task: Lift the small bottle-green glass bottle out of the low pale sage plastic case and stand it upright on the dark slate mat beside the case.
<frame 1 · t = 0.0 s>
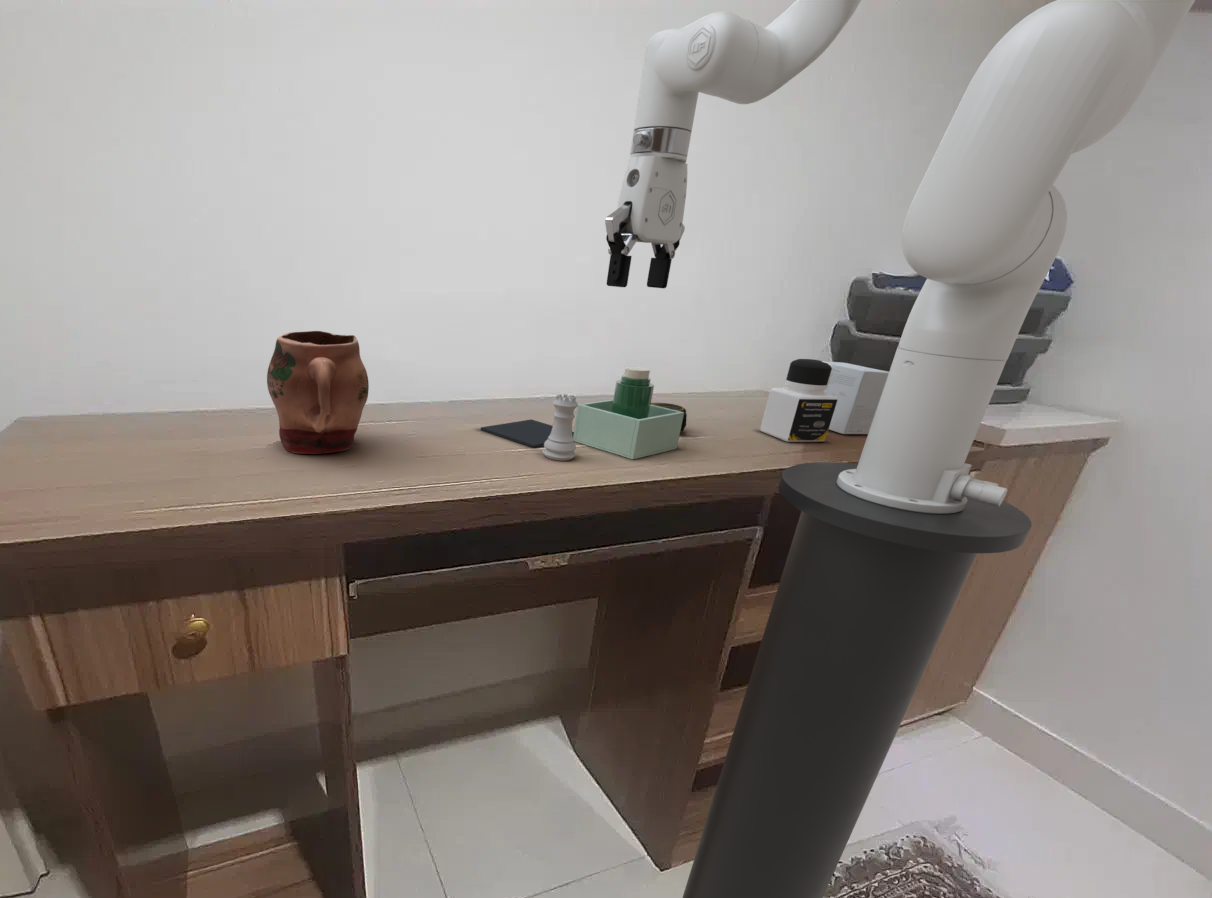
hand: (636, 287, 94), 21 cm above the table, tool pointing down, fingers open, 9 cm apart
brown clay mug: (321, 450, 83), on the table
case: (624, 444, 94), on the table
mat: (532, 433, 96), on the table
medicine bottle: (791, 437, 105), on the table
rook chess piece: (558, 457, 86), on the table
cosmetics box: (835, 428, 113), on the table
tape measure: (663, 432, 103), on the table
green bottle: (624, 442, 94), resting on case
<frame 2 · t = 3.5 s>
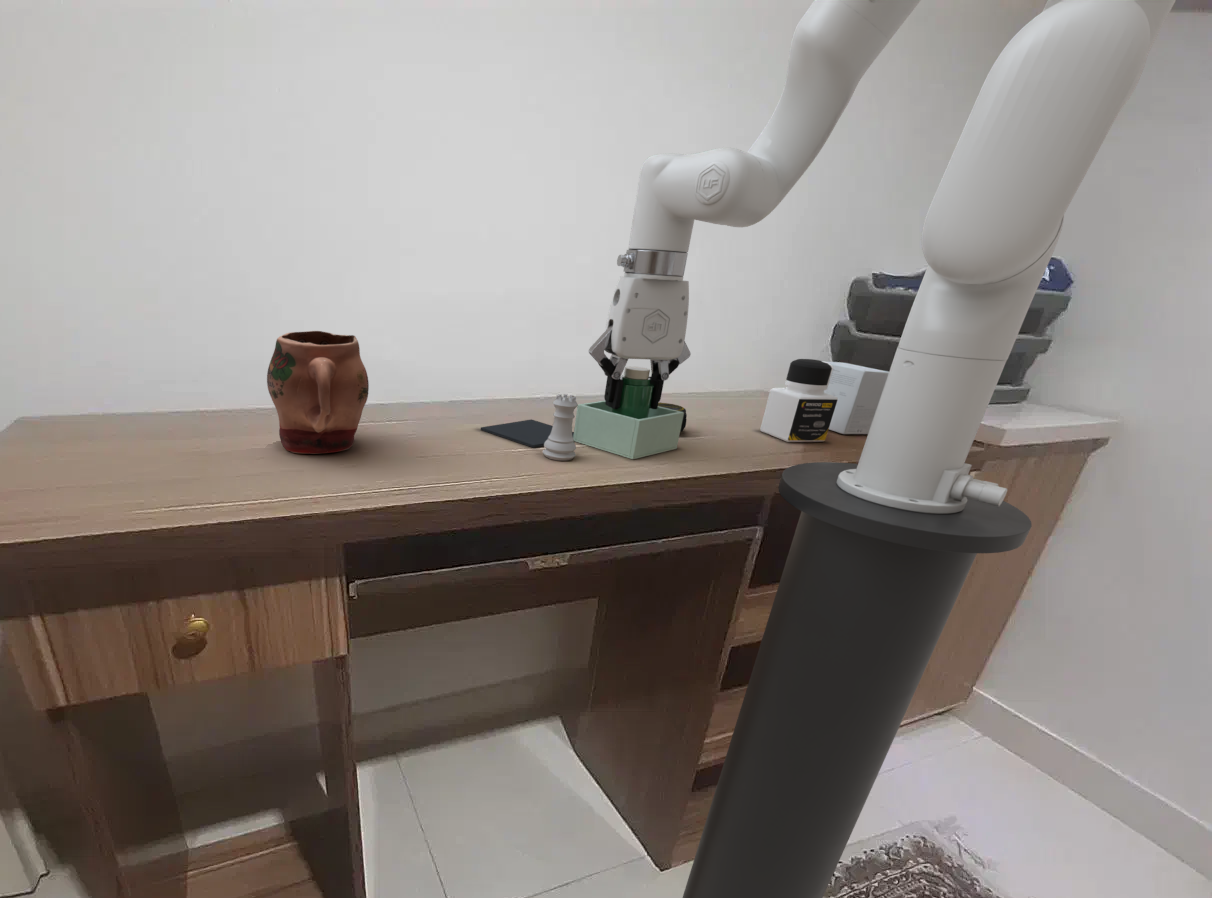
hand: (631, 405, 92), 6 cm above the table, tool pointing down, fingers closed on green bottle, 5 cm apart
green bottle: (624, 442, 94), resting on case, touching gripper
everything else where it was.
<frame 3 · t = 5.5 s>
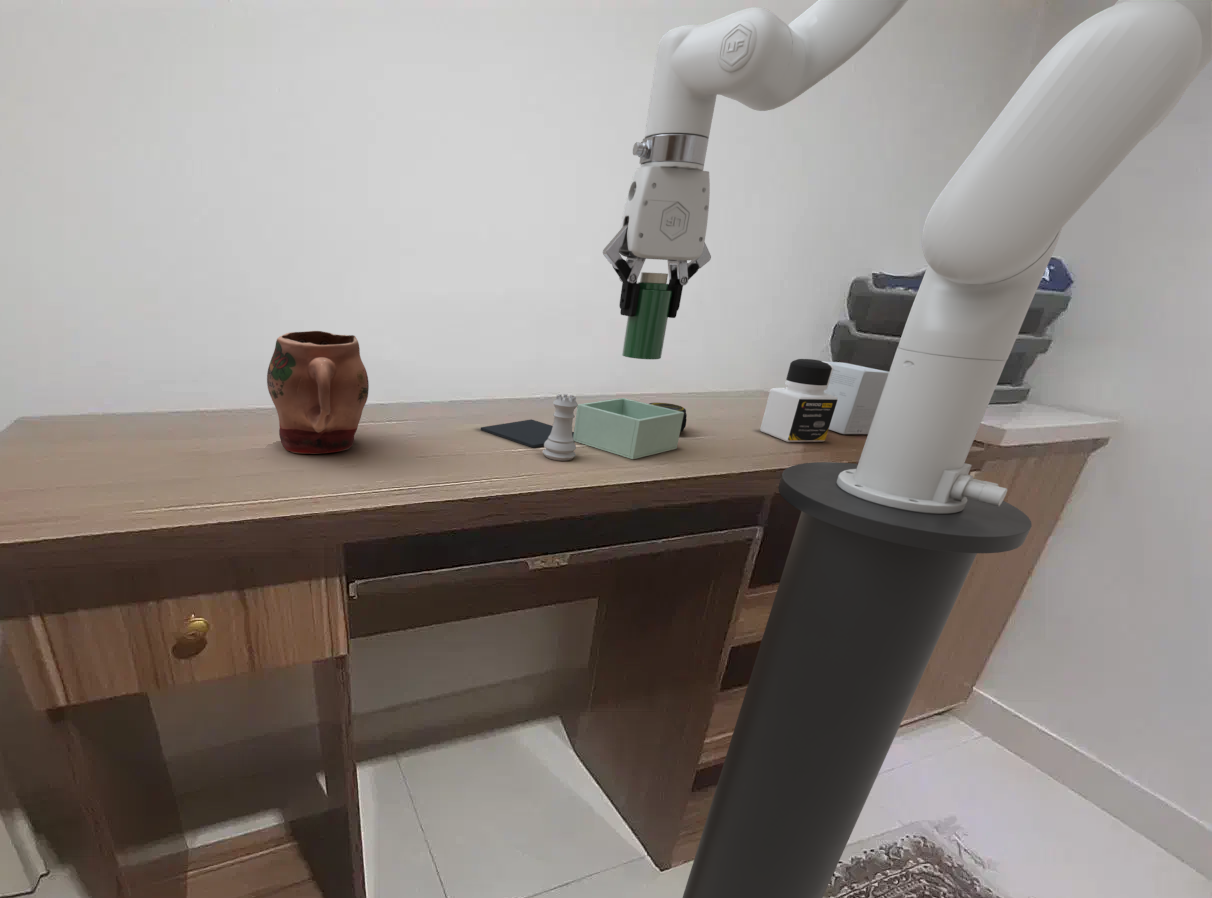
hand: (648, 314, 86), 18 cm above the table, tool pointing down, fingers closed on green bottle, 5 cm apart
green bottle: (641, 356, 88), point 12 cm above the table, touching gripper
everything else where it was.
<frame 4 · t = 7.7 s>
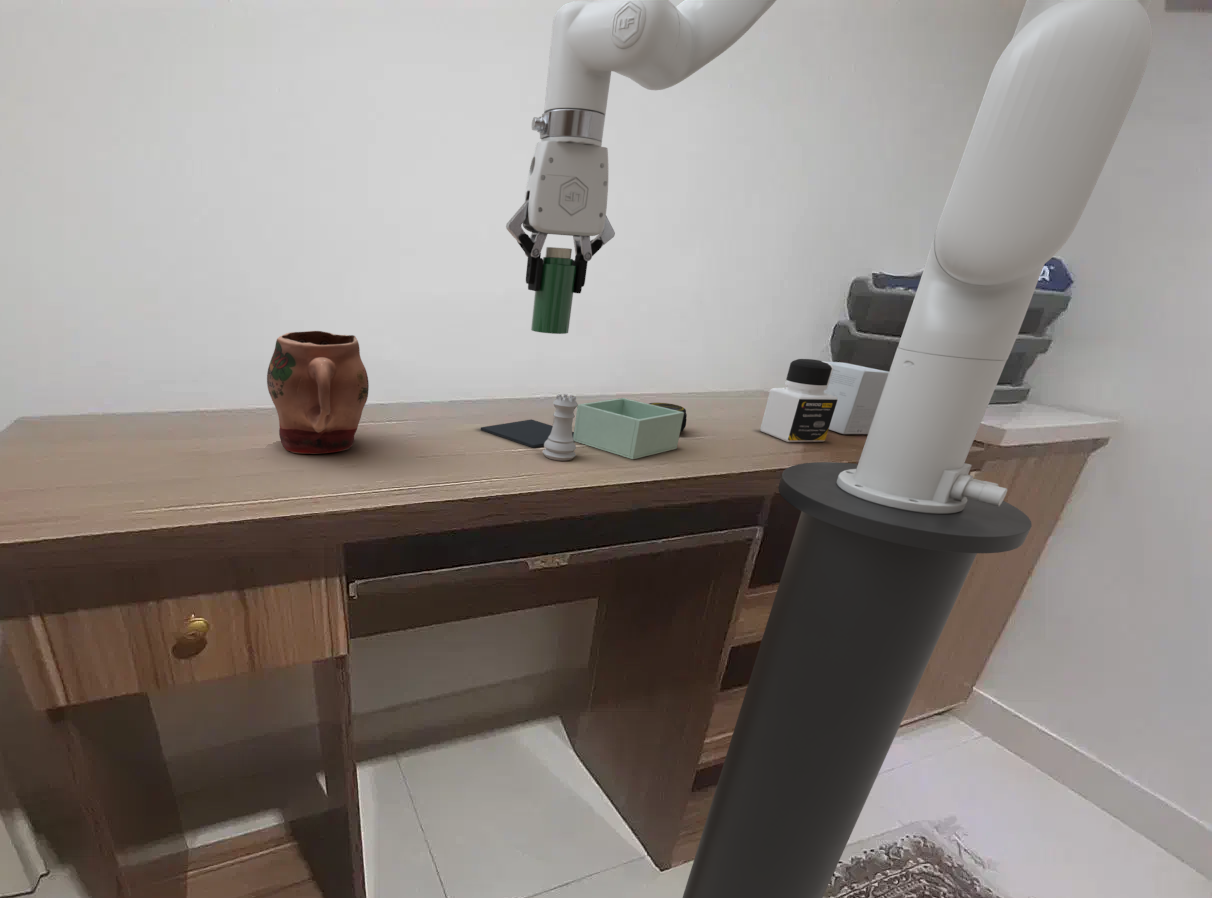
hand: (554, 289, 88), 20 cm above the table, tool pointing down, fingers closed on green bottle, 5 cm apart
green bottle: (549, 331, 90), point 15 cm above the table, touching gripper
everything else where it was.
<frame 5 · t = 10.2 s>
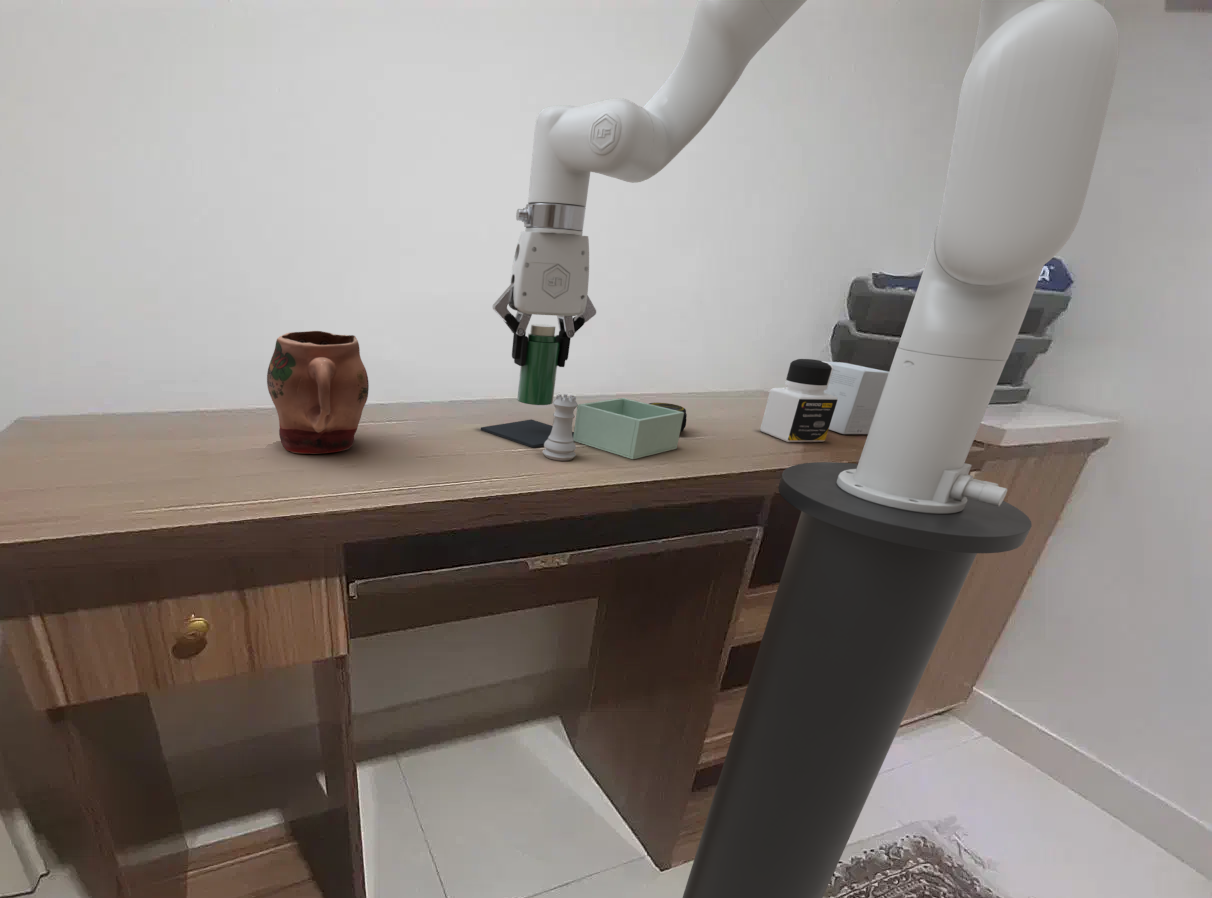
hand: (539, 363, 92), 10 cm above the table, tool pointing down, fingers closed on green bottle, 5 cm apart
green bottle: (534, 401, 94), point 5 cm above the table, touching gripper
everything else where it was.
when the fingers open (6 cm above the table, at t = 12.0 s): green bottle stays where it is, resting on mat.
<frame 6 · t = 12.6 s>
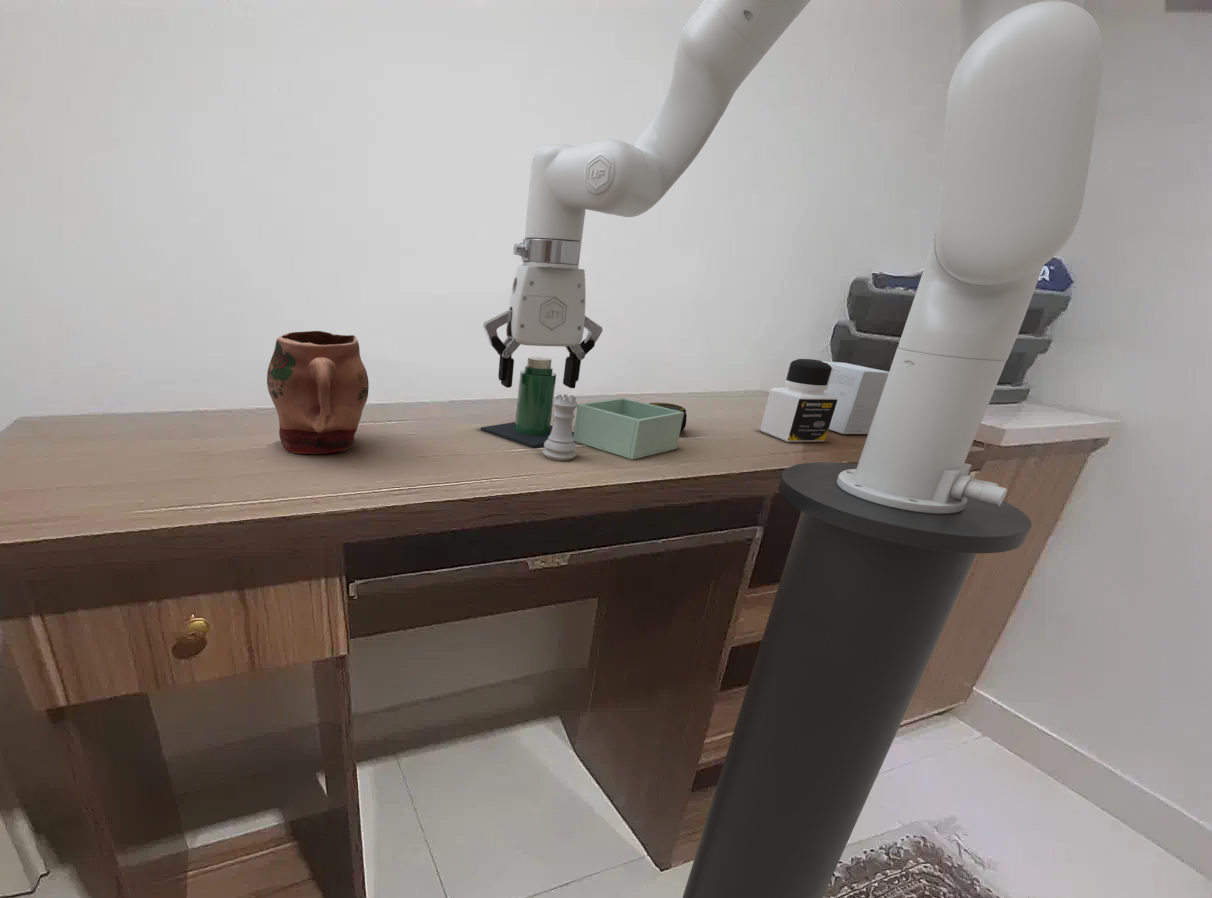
hand: (537, 386, 93), 7 cm above the table, tool pointing down, fingers open, 9 cm apart
green bottle: (532, 431, 96), resting on mat
everything else where it was.
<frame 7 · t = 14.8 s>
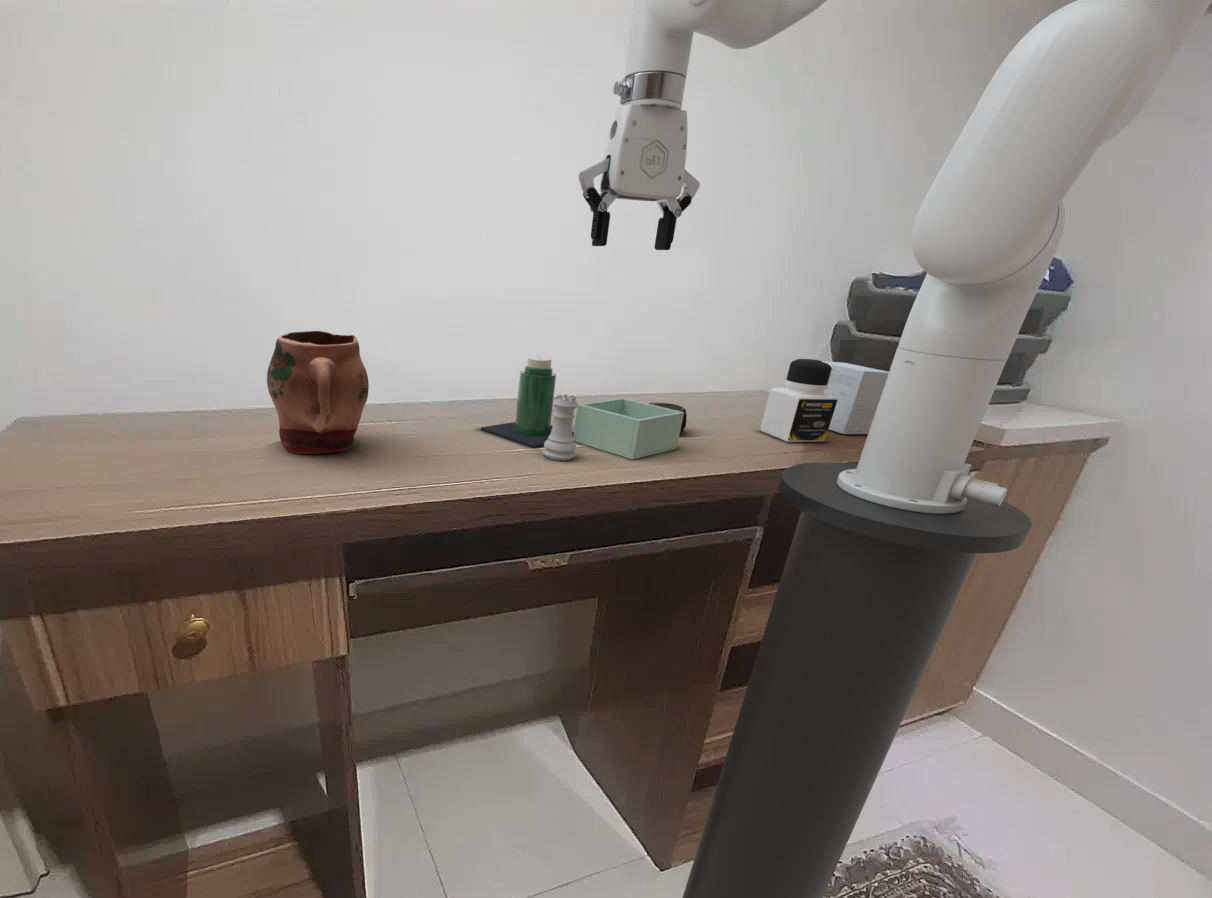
hand: (630, 247, 89), 26 cm above the table, tool pointing down, fingers open, 9 cm apart
nothing on the table moved.
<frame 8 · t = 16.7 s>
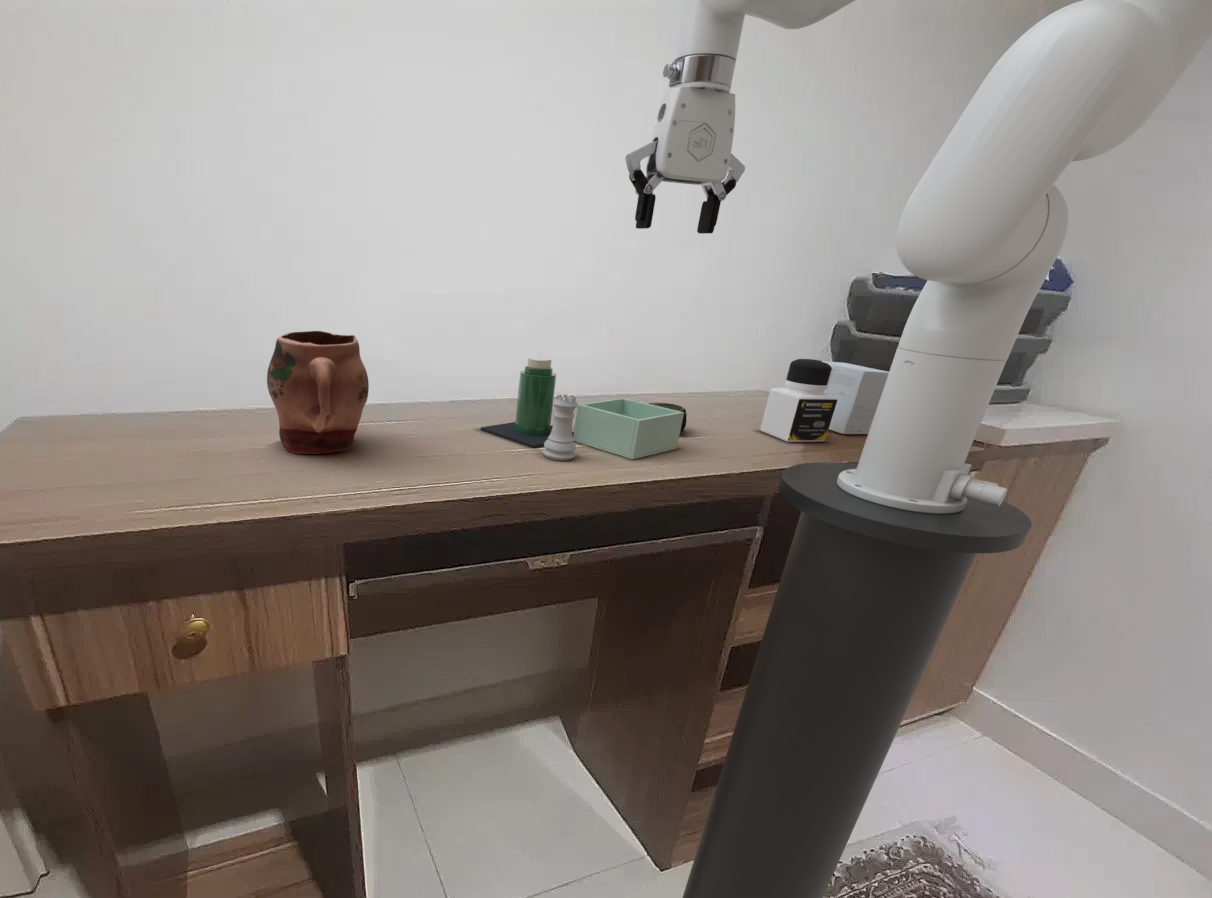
hand: (674, 230, 90), 28 cm above the table, tool pointing down, fingers open, 9 cm apart
nothing on the table moved.
at the end: green bottle inside the target area (0.1 cm from its centre), resting on mat; green bottle tilted 0°; the gripper is holding nothing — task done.
